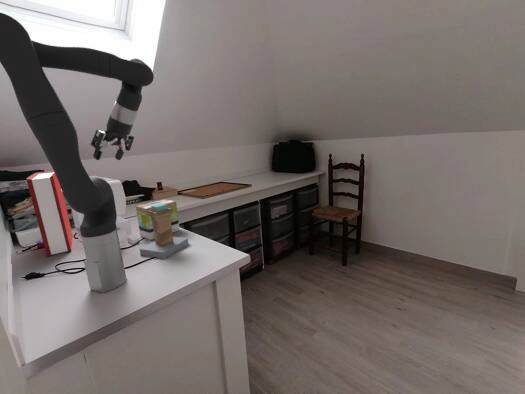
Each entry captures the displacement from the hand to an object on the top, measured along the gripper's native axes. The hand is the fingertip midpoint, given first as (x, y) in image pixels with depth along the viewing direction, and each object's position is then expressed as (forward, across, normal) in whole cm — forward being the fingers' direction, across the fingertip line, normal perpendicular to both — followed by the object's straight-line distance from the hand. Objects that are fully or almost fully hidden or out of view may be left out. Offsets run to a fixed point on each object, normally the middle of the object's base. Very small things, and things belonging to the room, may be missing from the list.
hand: (107, 159), depth 98 cm
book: (+53, -6, -13) cm, 55 cm away
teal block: (+10, -10, +22) cm, 27 cm away
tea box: (+30, -27, +17) cm, 44 cm away
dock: (+23, -12, +30) cm, 40 cm away
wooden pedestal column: (+21, -12, +29) cm, 38 cm away
